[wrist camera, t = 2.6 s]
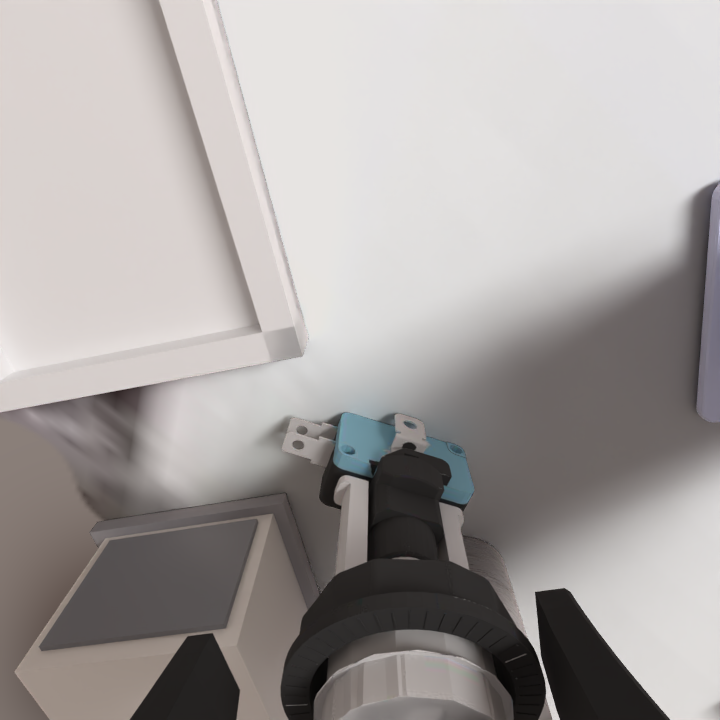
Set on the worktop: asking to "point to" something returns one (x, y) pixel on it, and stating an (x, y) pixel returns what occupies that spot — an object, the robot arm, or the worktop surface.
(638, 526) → the worktop surface
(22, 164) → the tray
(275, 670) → the panel
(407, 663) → the push button
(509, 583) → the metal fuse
